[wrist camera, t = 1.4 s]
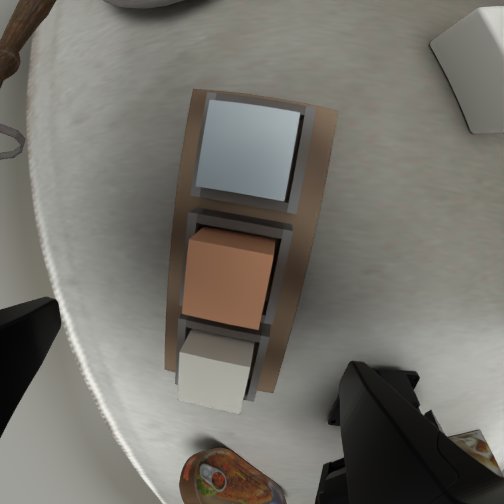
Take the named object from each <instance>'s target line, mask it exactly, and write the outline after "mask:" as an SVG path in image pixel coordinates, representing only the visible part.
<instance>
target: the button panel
mask: <svg viewBox="0 0 504 504" xmlns="http://www.w3.org/2000/svg"><path fill="white" fill-rule="evenodd" d="M210 100H217V101H227V102H235V103H243V104H251V105H258V106H264V107H271V108H277V109H283V110H288V111H294V112H299V113H300V117H299V123H298V129H297V134H296V140H295V146H294V151H293V157H292V162H291V168H290V173H289V179H288V184H287V190H286V195H285V200H284V201H279V200H273V199H268V198H262V197H257V196H251V195H246V194H240V193H234V192H228V191H222V190H216V189H209V188H203V187H196V180H197V173H198V166H199V160H200V153H201V147H202V141H203V135H204V129H205V123H206V117H207V112H208V106H209V101H210ZM337 115H338V111H337V110H332V109H328V108H324V107H319V106H314V105H310V104H305V103H300V102H294V101H289V100H283V99H277V98H271V97H264V96H257V95H250V94H242V93H234V92H224V91H214V90H201V89H193V92H192V97H191V102H190V108H189V113H188V119H187V125H186V131H185V137H184V143H183V149H182V156H181V163H180V170H179V177H178V185H177V193H176V201H175V210H174V219H173V229H172V239H171V250H170V262H169V275H168V290H167V308H166V332H165V370H168V371H172V372H176V377H175V384H177V385H178V374H179V353H180V350H181V348H182V346H183V344H184V342H185V341H186V339H187V337H188V335H189V333H190V331H191V329H192V328H193V329H197V330H201V331H206V332H210V333H215V334H219V335H224V336H229V337H234V338H239V339H244V340H249V341H254V342H255V343H254V349H253V355H252V361H251V367H250V371H249V376H248V381H247V385H246V389H245V394H244V398H243V400H248V401H253V402H254V398H255V395H256V391H257V390H258V391H264V392H270V393H273V392H274V389H275V385H276V382H277V379H278V375H279V372H280V368H281V365H282V361H283V358H284V354H285V351H286V347H287V343H288V340H289V336H290V332H291V329H292V325H293V321H294V317H295V313H296V310H297V306H298V302H299V298H300V294H301V290H302V286H303V282H304V278H305V273H306V269H307V265H308V261H309V257H310V252H311V248H312V243H313V239H314V235H315V230H316V225H317V221H318V216H319V211H320V207H321V202H322V197H323V192H324V187H325V182H326V177H327V172H328V166H329V161H330V155H331V150H332V144H333V139H334V133H335V127H336V121H337ZM204 226H206V227H212V228H217V229H223V230H228V231H233V232H239V233H244V234H250V235H255V236H260V237H266V238H271V239H275V248H274V257H273V262H272V267H271V272H270V277H269V282H268V287H267V292H266V296H265V301H264V306H263V311H262V316H261V320H260V325H259V330H256V329H251V328H246V327H240V326H236V325H231V324H226V323H221V322H216V321H212V320H207V319H203V318H198V317H194V316H189V315H185V314H182V307H183V295H184V283H185V272H186V262H187V252H188V243H189V239H190V238H191V237H192V236H194V235H195V234H196V233H197V232H198V231H199V230H201V229H202V228H203V227H204Z"/></svg>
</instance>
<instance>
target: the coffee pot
mask: <svg viewBox="0 0 504 504" xmlns="http://www.w3.org/2000/svg"><path fill="white" fill-rule="evenodd" d="M103 1H104V2H107V3H110V4H113V5H115V6H118V7H123V8H141V9H147V8H154V7H162V6H167V5H170V4H173V3H176V2H180V1H183V0H103ZM55 2H56V0H20V1H19V2H18V4H17V6H16V9H15V11H14V13H13V15H12V17H11V19H10V21H9V23H8V25H7V27H6V29H5V31H4V34H3V36H2V38H1V40H0V88H1V85H2V83H3V81H4V80H5V79H7V78H8V77H10V76H11V75H13V74H14V73H15V72H16V71H17V70H18V68H19V65H20V56H19V51H20V50H21V48H22V47H23V46H24V44H25V42H26V41H27V40H28V39H29V37H30V36H31V35H32V33H33V32H34V31H35V30H36V28H37V27H38V26H39V25H40V23H41V22H42V21H43V20H44V19H45V18H46V17H47V16H48V14H49V12H50V10H51V9H52V7H53V5H54V3H55ZM0 132H1V133H3V134H6V135H8V136H11V137H14V138H15V139H16V140H17V141H18V142H19V143H20V144H21V146H19V147H18V148H17V149H15V150H14V151H10V152H3V153H0V160H1V159H8V158H14V157H15V156H17V155H18V154H20V153H21V152H22V150H23V146H24V143H25V138H24V136H23V135H22V134H21V133H20V132H19V131H18V130H16V129H13V128H11V127H8V126H6V125H3V124H0Z"/></svg>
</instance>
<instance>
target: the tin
mask: <svg viewBox="0 0 504 504" xmlns="http://www.w3.org/2000/svg"><path fill="white" fill-rule="evenodd" d="M179 488H180V493H181V496H182V499H183V502H184V504H287V503H286V499H285V497H284V494H283V492H282V490H281V489H280V487H279V486H278V485H277V484H276V483H275V482H274V481H273V480H272V479H270V478H268V477H267V476H266V475H264V474H263V473H261V472H260V471H258V470H257V469H256V468H254V467H253V466H251V465H250V464H249V463H247V462H246V461H245V460H243V459H242V458H241V457H240V456H238V455H237V454H236V453H234V452H233V451H231V450H229V449H226V448H213V449H210V450H208V451H203V452H199V453H196V454H194V455H193V456H191V457H190V458H189V459H188V460H187V461H186V463H185V465H184V467H183V469H182V472H181V477H180V482H179Z"/></svg>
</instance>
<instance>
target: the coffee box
mask: <svg viewBox="0 0 504 504" xmlns="http://www.w3.org/2000/svg"><path fill="white" fill-rule="evenodd" d="M448 438H450V439H451V440H452V441H453V442H454V443H455V444H457V445H458V446H459V447H460V448H462V449H463V450H464V451H466V452H467V453H468V454H470V455H471V456H472V457H474V458H475V459H476V460H478V461H479V462H480V463H482V464H483V465H485V466H486V467H487V468H489V469H490V470H492V471H493V472H494V473H496V474H497V475H499V476H501V477H503V475H502V472H501V470H500V468H499V466H498V464H497V462H496V460H495V458H494V456H493V454H492V452H491V450H490V448H489V446H488V444H487V442H486V440H485V438H484V436H483V434H482V432H481V430H478V431H474V432H470V433H465V434H461V435H457V436H452V437H448ZM503 478H504V477H503Z"/></svg>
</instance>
